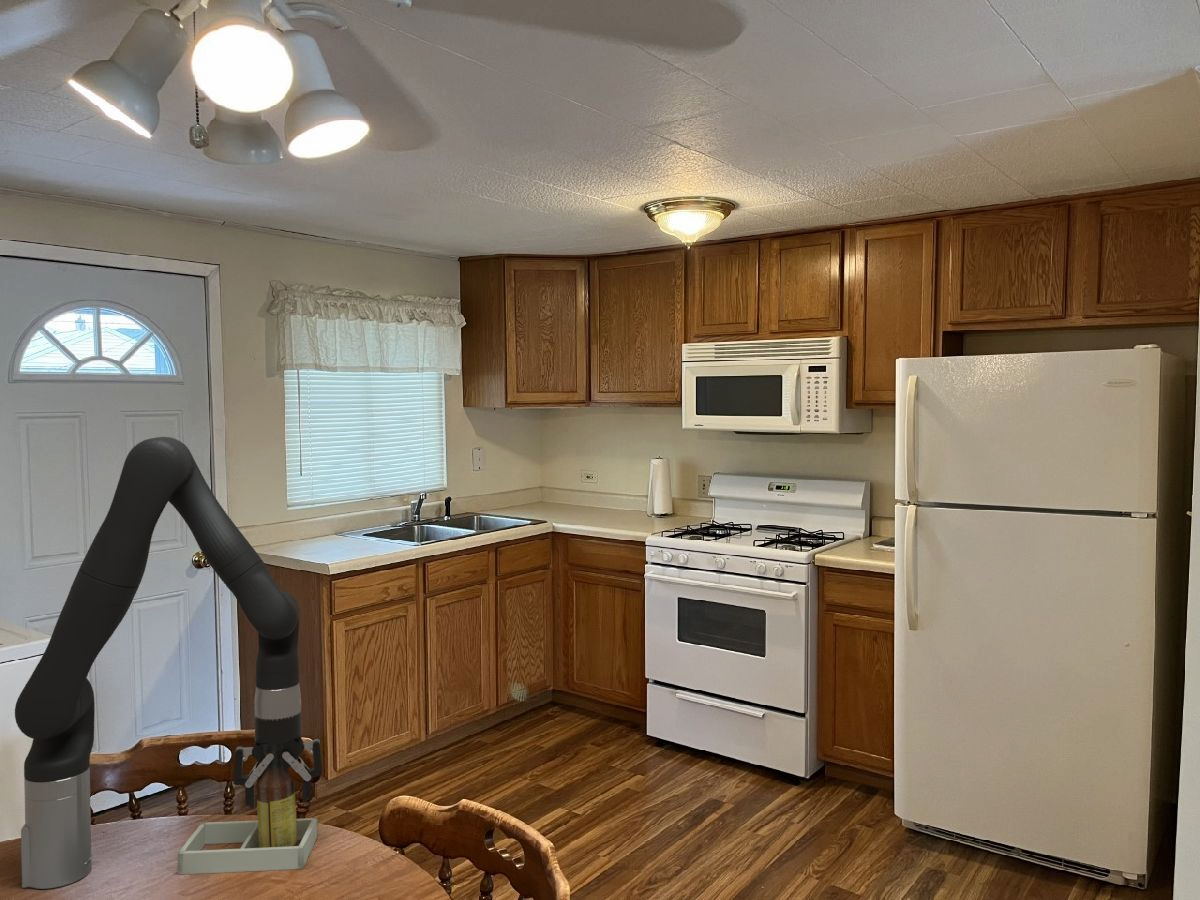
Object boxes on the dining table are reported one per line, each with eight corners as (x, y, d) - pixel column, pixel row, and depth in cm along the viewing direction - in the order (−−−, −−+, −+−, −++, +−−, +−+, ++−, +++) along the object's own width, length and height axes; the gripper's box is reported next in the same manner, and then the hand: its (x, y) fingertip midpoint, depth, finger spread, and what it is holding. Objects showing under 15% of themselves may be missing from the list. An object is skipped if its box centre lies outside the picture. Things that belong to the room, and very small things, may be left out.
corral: (177, 874, 149) (177, 853, 149) (201, 842, 161) (201, 822, 160) (302, 868, 151) (302, 848, 151) (317, 837, 162) (317, 817, 162)
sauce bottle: (303, 846, 159) (302, 734, 158) (288, 863, 153) (286, 747, 152) (267, 845, 159) (266, 733, 159) (250, 862, 153) (249, 746, 153)
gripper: (231, 721, 150) (232, 818, 150) (321, 713, 154) (322, 807, 154) (235, 707, 157) (236, 800, 157) (321, 700, 161) (322, 790, 162)
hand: (278, 803), depth 156 cm, fingers open, 8 cm apart
